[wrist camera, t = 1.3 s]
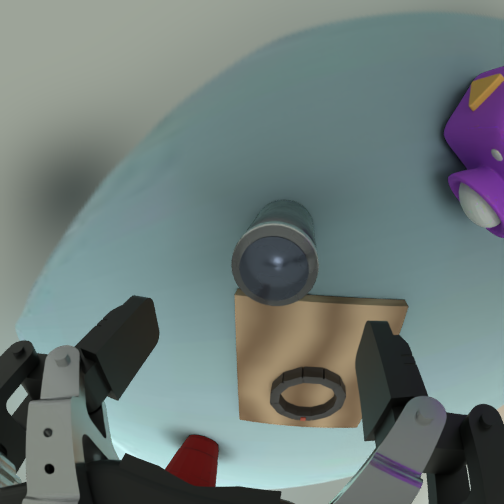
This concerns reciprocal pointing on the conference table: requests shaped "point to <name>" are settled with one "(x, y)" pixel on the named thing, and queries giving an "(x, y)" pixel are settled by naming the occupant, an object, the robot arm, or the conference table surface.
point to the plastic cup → (196, 461)
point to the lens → (277, 255)
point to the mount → (305, 358)
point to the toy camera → (480, 151)
